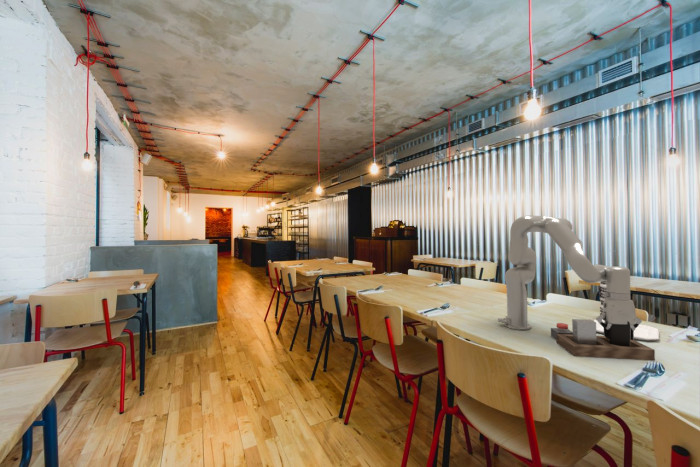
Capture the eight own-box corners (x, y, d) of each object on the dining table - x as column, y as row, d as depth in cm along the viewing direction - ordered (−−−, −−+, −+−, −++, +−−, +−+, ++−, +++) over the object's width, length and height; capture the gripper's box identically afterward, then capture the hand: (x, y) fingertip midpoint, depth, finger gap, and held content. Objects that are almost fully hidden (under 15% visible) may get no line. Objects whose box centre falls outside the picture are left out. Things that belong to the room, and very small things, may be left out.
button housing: (558, 341, 139) (557, 332, 139) (550, 336, 146) (550, 327, 146) (575, 342, 138) (574, 333, 138) (567, 336, 145) (566, 328, 145)
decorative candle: (600, 317, 175) (599, 274, 174) (621, 320, 168) (621, 275, 168) (597, 320, 168) (596, 276, 168) (619, 324, 162) (619, 277, 161)
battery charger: (629, 345, 126) (629, 317, 126) (631, 348, 123) (630, 320, 123) (607, 341, 130) (607, 315, 130) (608, 344, 127) (608, 317, 127)
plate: (595, 321, 168) (595, 317, 168) (658, 331, 150) (658, 327, 150) (588, 332, 150) (588, 328, 150) (659, 345, 133) (659, 340, 133)
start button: (559, 329, 140) (559, 325, 140) (555, 326, 145) (554, 322, 145) (570, 329, 139) (570, 325, 139) (565, 326, 144) (565, 323, 144)
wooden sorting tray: (574, 356, 123) (573, 325, 123) (556, 342, 138) (556, 315, 138) (654, 360, 118) (654, 328, 118) (627, 345, 132) (626, 317, 132)
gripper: (600, 297, 124) (600, 340, 124) (649, 298, 121) (649, 342, 121) (589, 293, 132) (589, 334, 132) (635, 294, 128) (635, 336, 129)
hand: (618, 338), depth 127 cm, fingers closed on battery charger, 7 cm apart
